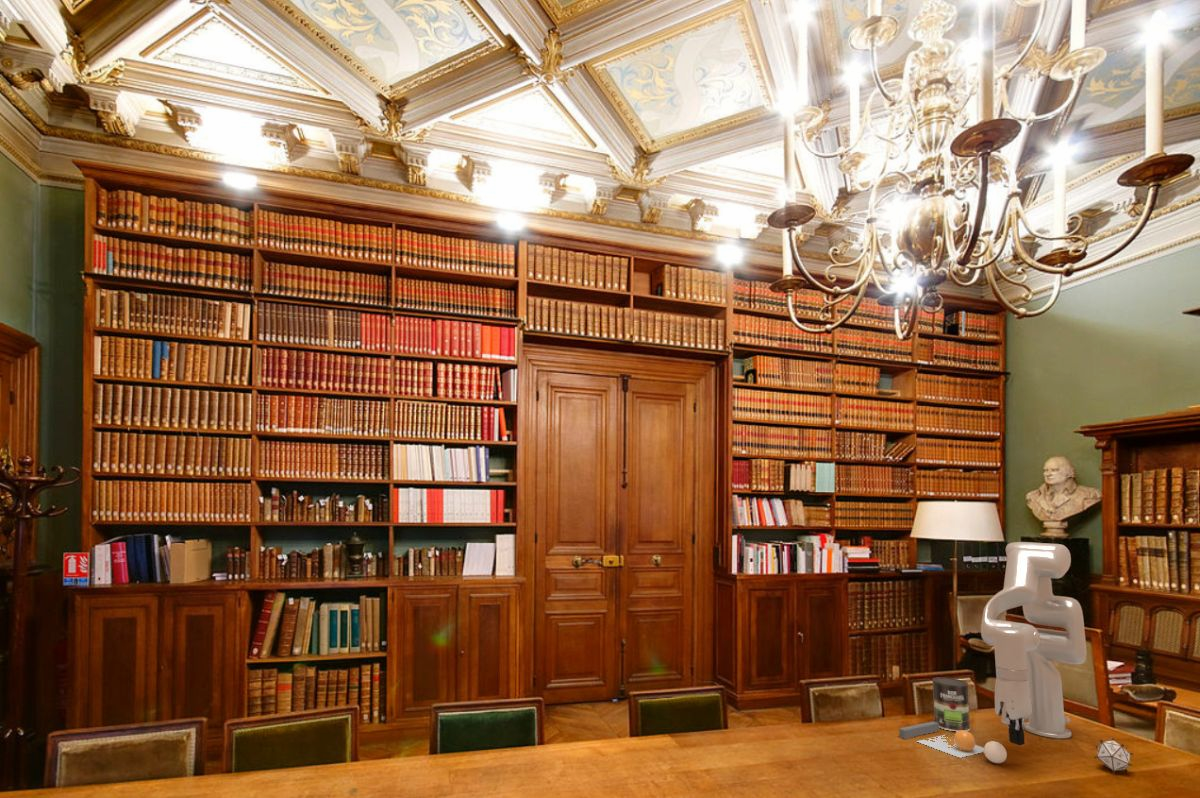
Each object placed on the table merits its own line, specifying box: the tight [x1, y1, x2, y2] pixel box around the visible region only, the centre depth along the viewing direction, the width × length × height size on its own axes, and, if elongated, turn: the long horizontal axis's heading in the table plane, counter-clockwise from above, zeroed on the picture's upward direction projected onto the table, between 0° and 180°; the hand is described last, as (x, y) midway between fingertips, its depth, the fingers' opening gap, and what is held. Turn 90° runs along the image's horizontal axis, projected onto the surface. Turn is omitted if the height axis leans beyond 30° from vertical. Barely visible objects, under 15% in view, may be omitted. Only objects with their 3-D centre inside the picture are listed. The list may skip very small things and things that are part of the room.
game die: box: [1093, 737, 1134, 775], centre depth 182 cm, size 9×8×10 cm
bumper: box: [898, 720, 940, 740], centre depth 208 cm, size 16×2×2 cm, turn 118°
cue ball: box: [983, 740, 1008, 764], centre depth 186 cm, size 6×6×6 cm
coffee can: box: [931, 676, 971, 733], centre depth 216 cm, size 10×10×14 cm
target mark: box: [915, 734, 984, 759], centre depth 198 cm, size 14×14×1 cm
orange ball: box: [953, 730, 976, 751], centre depth 195 cm, size 6×6×6 cm
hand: (1017, 743), depth 183 cm, fingers closed
